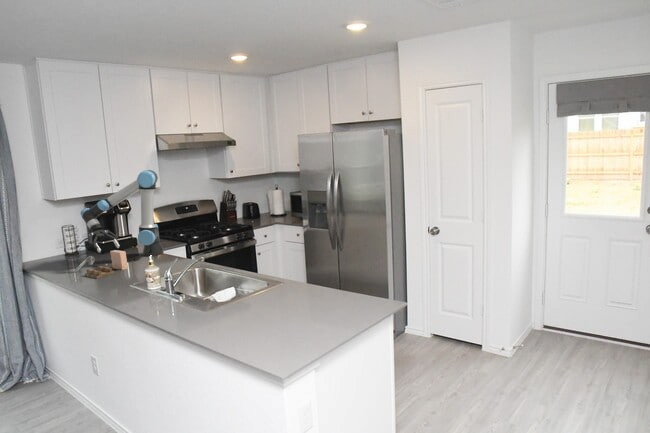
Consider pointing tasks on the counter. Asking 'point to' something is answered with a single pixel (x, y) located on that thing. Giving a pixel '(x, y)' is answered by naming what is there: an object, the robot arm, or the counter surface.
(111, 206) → the robot arm
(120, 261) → the salmon pink square block
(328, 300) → the counter surface
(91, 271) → the rack
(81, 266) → the bracket
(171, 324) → the counter surface
